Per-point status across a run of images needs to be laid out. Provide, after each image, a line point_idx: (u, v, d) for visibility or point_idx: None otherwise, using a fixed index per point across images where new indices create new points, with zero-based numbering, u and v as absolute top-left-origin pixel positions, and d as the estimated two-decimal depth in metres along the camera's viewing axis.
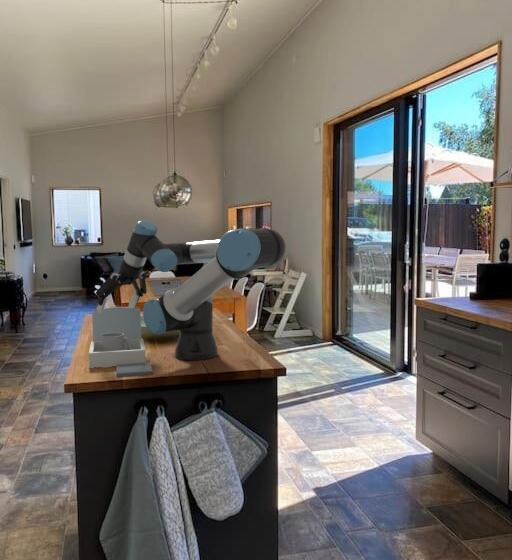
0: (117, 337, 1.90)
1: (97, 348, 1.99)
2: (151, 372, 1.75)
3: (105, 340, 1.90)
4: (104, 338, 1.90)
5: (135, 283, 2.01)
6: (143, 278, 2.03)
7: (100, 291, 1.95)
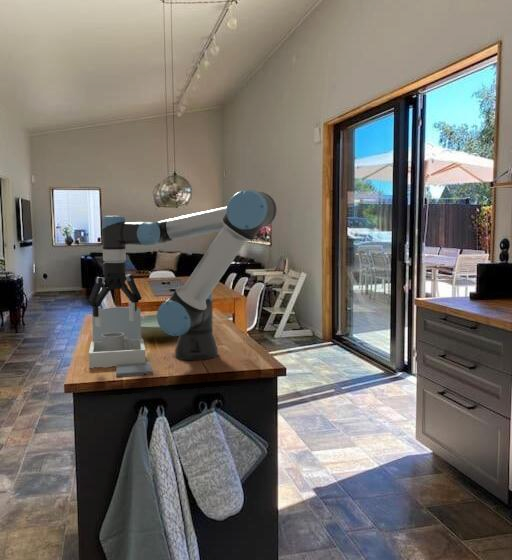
0: (117, 337, 1.90)
1: (97, 348, 1.99)
2: (151, 372, 1.75)
3: (105, 340, 1.90)
4: (104, 338, 1.90)
5: (125, 285, 1.92)
6: (131, 280, 1.95)
7: (91, 299, 1.84)
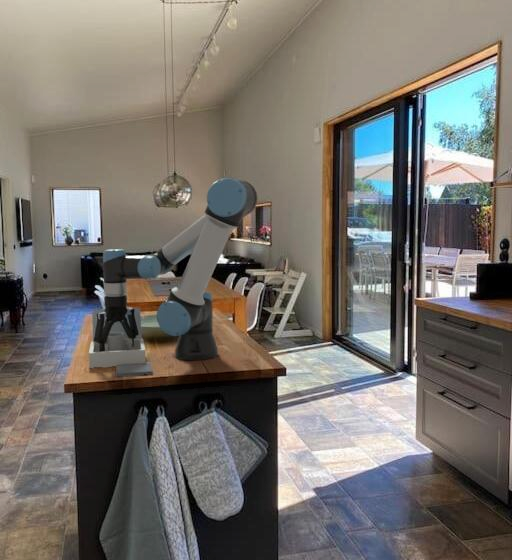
0: (117, 337, 1.90)
1: (97, 348, 1.99)
2: (151, 372, 1.75)
3: None
4: None
5: (125, 319, 1.93)
6: (132, 314, 1.96)
7: (96, 336, 1.87)
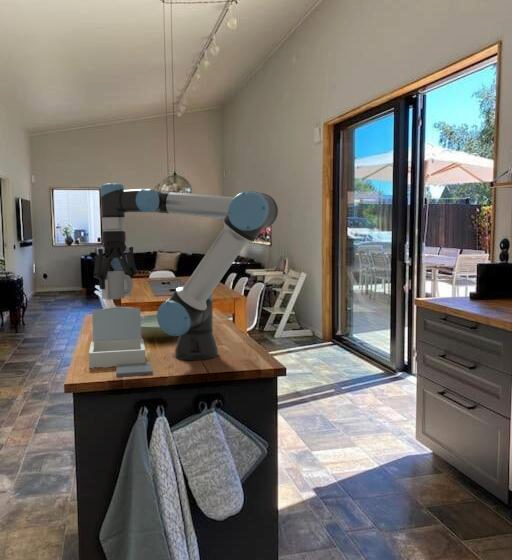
0: (117, 273, 1.88)
1: (97, 348, 1.99)
2: (151, 372, 1.75)
3: None
4: None
5: (123, 256, 1.91)
6: (131, 252, 1.93)
7: (96, 271, 1.85)
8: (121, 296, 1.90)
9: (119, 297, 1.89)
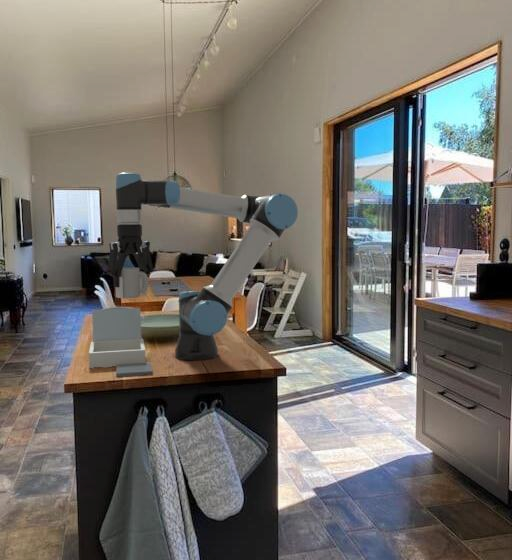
0: (132, 270, 1.73)
1: (97, 348, 1.99)
2: (151, 372, 1.75)
3: None
4: None
5: (139, 251, 1.76)
6: (147, 247, 1.79)
7: (110, 268, 1.70)
8: (136, 295, 1.75)
9: (134, 296, 1.75)
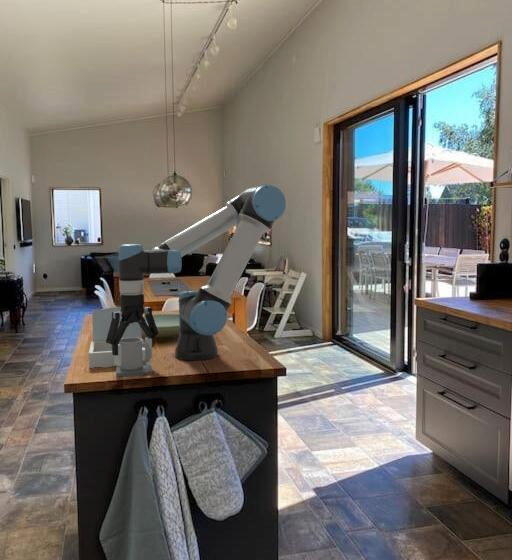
0: (135, 343, 1.76)
1: (97, 348, 1.99)
2: (151, 372, 1.75)
3: (122, 346, 1.76)
4: (121, 344, 1.76)
5: (142, 319, 1.79)
6: (150, 313, 1.81)
7: (109, 337, 1.72)
8: (139, 366, 1.78)
9: (137, 367, 1.77)
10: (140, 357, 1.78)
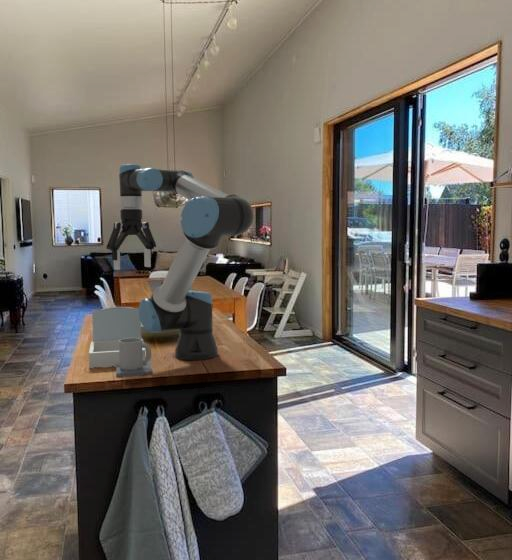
0: (135, 343, 1.76)
1: (97, 348, 1.99)
2: (151, 372, 1.75)
3: (122, 346, 1.76)
4: (121, 344, 1.76)
5: (141, 232, 2.02)
6: (147, 227, 2.05)
7: (110, 243, 1.94)
8: (139, 366, 1.78)
9: (137, 368, 1.77)
10: (140, 357, 1.78)
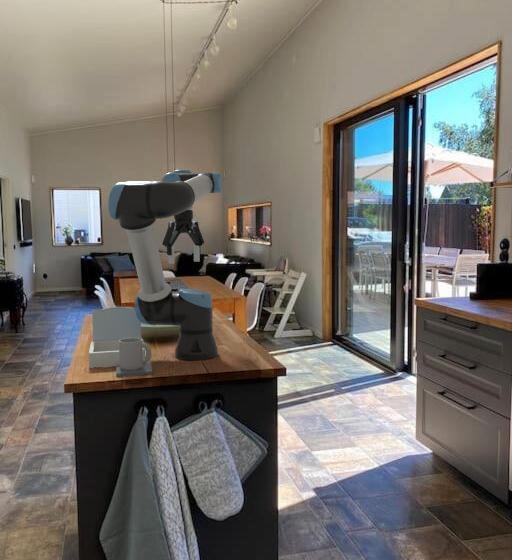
0: (135, 343, 1.76)
1: (97, 348, 1.99)
2: (151, 372, 1.75)
3: (122, 346, 1.76)
4: (121, 344, 1.76)
5: (192, 230, 2.27)
6: (196, 226, 2.29)
7: (165, 240, 2.19)
8: (139, 366, 1.78)
9: (137, 368, 1.77)
10: (140, 357, 1.78)
